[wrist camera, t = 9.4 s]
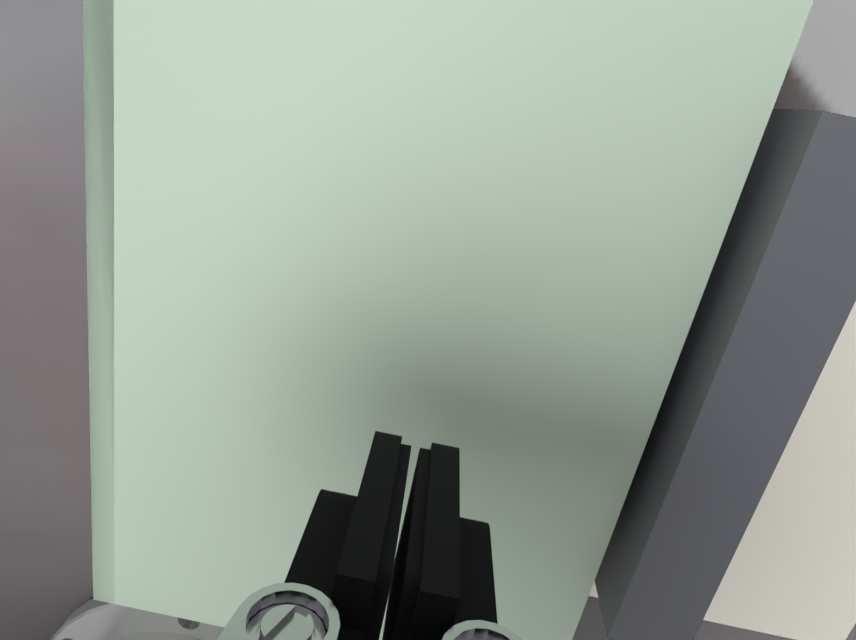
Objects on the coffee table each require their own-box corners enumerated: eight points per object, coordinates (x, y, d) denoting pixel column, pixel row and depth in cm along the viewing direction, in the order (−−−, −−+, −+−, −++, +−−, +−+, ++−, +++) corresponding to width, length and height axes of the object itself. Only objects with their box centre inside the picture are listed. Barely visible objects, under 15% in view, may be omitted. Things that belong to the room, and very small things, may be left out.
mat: (834, 639, 22) (840, 648, 22) (558, 581, 22) (560, 589, 22) (1060, 258, 17) (1073, 262, 17) (698, 183, 17) (702, 186, 17)
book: (539, 598, 23) (550, 697, 19) (155, 517, 23) (93, 599, 19) (761, -59, 15) (855, -111, 11) (176, -177, 15) (77, -267, 11)
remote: (580, 522, 21) (650, 536, 21) (607, 637, 17) (696, 656, 17) (726, 106, 16) (818, 125, 16) (823, 110, 12) (951, 137, 11)
